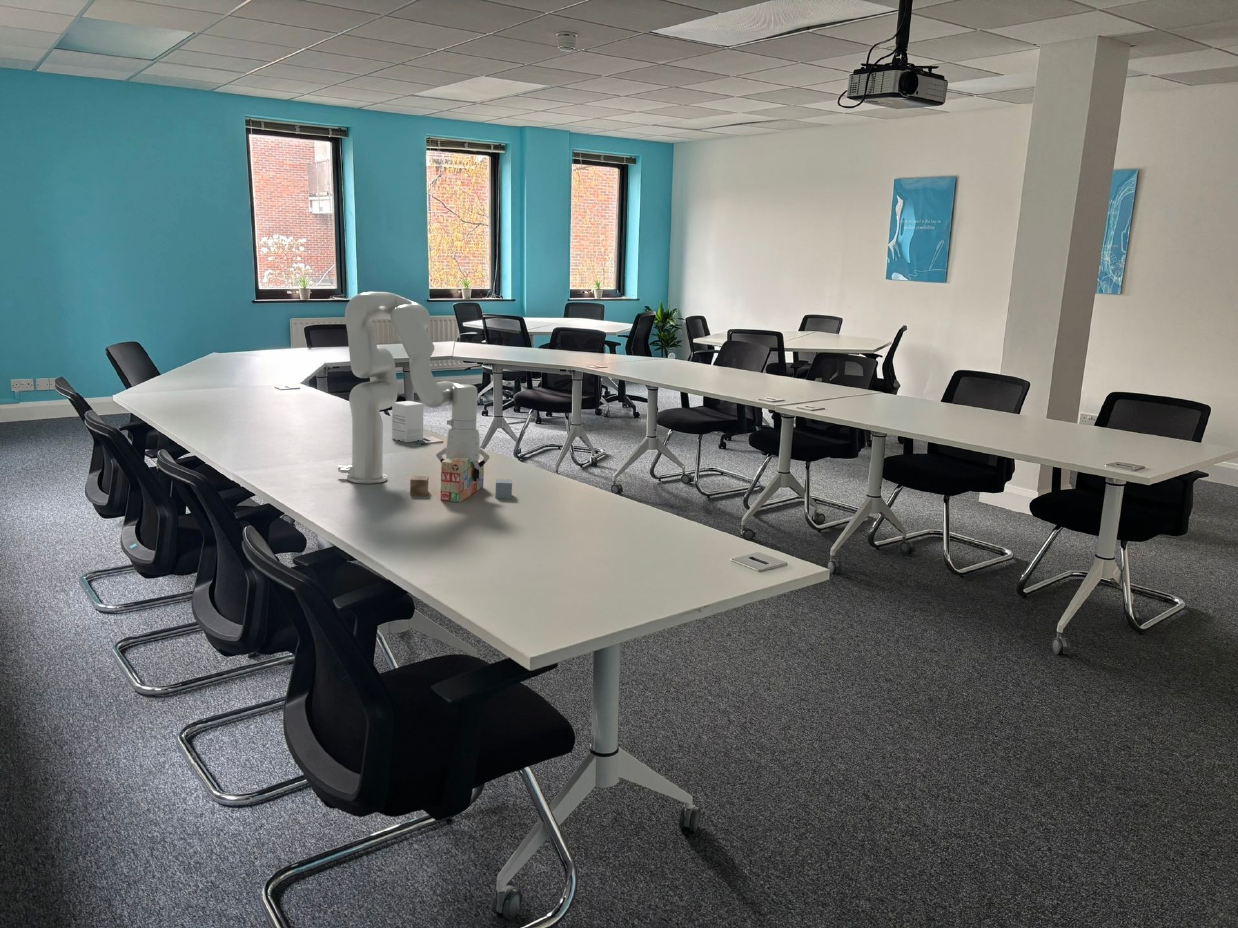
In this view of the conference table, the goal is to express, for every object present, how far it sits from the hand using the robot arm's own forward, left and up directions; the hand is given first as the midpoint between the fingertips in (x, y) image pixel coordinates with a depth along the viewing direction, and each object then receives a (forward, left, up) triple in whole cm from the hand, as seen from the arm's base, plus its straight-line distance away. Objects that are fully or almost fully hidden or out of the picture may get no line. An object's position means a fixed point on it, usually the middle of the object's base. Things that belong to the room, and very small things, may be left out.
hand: (462, 480), depth 276 cm
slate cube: (+13, -1, -5) cm, 14 cm away
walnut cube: (-13, -1, -5) cm, 14 cm away
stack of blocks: (0, +1, -5) cm, 5 cm away
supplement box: (-26, +83, -5) cm, 87 cm away
